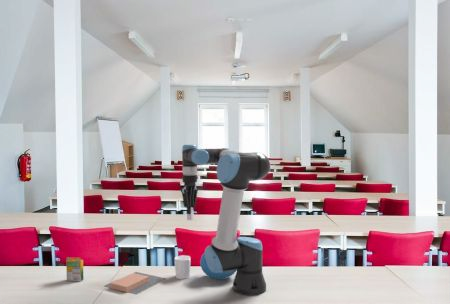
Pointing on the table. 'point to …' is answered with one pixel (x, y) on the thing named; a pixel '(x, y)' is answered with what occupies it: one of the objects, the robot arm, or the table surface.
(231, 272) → the educational model
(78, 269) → the crayon box
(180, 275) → the white cup
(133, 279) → the tile
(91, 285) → the table surface
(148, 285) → the mat
